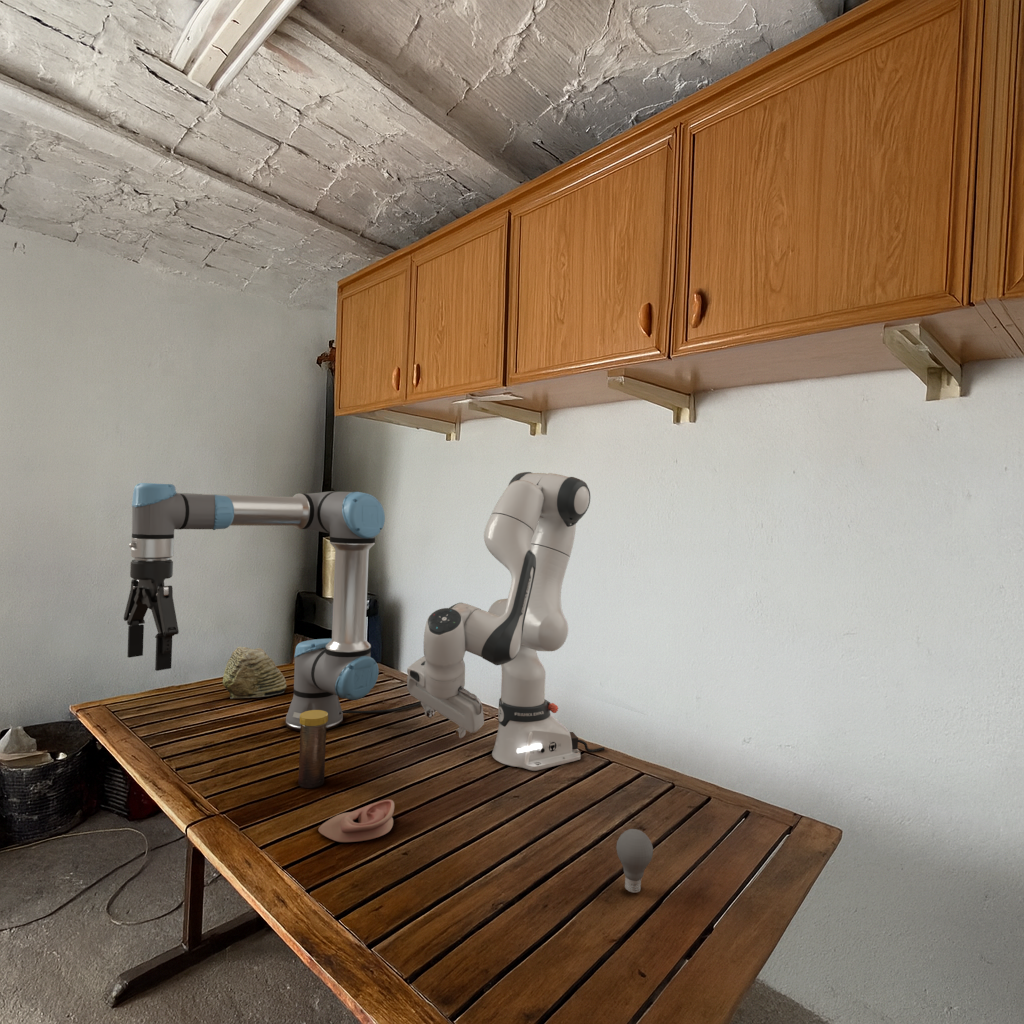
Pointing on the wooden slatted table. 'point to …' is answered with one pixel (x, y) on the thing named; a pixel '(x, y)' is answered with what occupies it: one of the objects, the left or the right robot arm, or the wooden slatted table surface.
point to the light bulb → (634, 857)
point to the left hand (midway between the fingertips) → (148, 662)
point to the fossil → (252, 674)
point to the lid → (313, 718)
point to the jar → (312, 756)
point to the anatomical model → (360, 823)
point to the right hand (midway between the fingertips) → (445, 725)
